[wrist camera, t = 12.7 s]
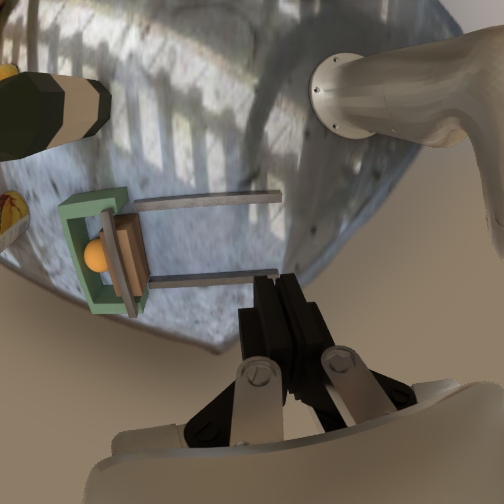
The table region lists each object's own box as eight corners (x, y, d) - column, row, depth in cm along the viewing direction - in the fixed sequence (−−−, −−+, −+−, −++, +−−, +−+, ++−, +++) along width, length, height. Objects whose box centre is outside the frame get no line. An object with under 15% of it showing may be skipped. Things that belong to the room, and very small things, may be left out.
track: (279, 190, 37) (281, 193, 36) (276, 275, 44) (278, 280, 43) (135, 200, 35) (132, 203, 34) (151, 282, 42) (149, 288, 41)
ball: (111, 229, 38) (111, 243, 34) (118, 258, 40) (119, 274, 36) (81, 237, 36) (78, 251, 32) (90, 265, 38) (88, 282, 34)
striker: (134, 193, 35) (118, 210, 29) (153, 289, 42) (145, 317, 36) (108, 196, 34) (89, 213, 28) (130, 290, 42) (120, 317, 36)
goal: (126, 186, 34) (114, 197, 30) (148, 293, 43) (142, 313, 39) (73, 194, 33) (57, 206, 29) (101, 294, 42) (92, 313, 38)
